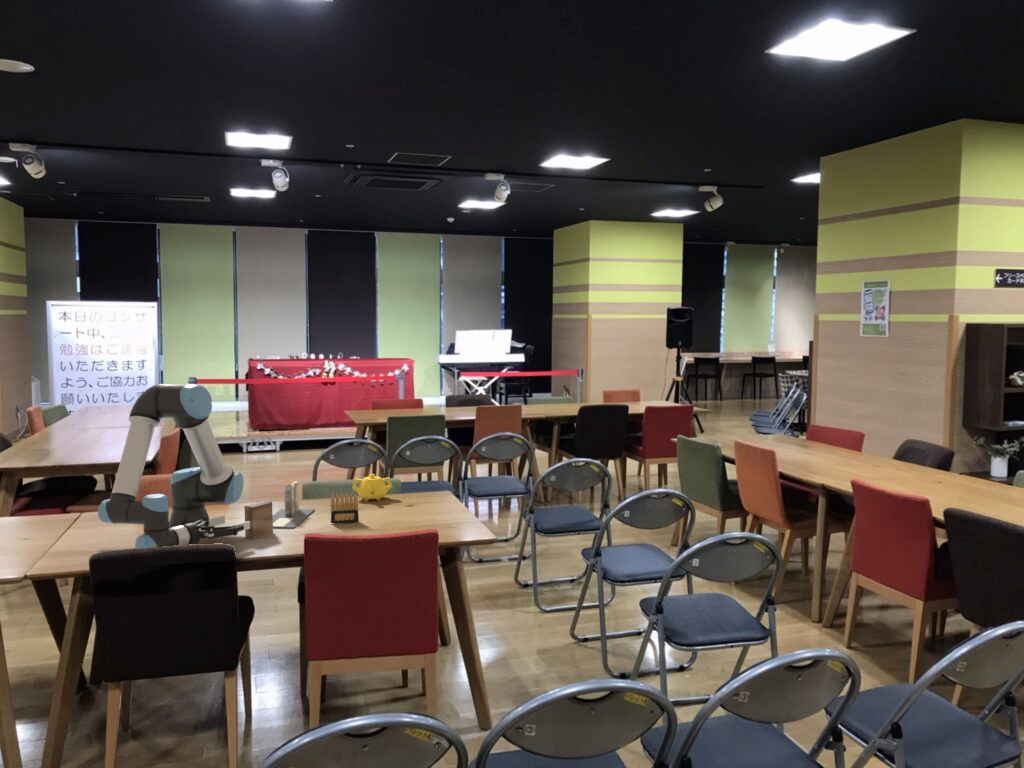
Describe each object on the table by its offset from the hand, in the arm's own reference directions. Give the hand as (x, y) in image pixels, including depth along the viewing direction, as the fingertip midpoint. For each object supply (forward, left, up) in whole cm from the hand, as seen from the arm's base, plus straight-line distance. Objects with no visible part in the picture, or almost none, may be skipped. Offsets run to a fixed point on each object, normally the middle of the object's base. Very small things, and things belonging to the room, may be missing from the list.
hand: (236, 522), depth 274 cm
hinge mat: (-10, +32, -7) cm, 34 cm away
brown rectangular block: (0, +10, -7) cm, 12 cm away
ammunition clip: (+14, +40, -8) cm, 43 cm away
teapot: (-4, +75, -8) cm, 76 cm away
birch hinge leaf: (-13, +37, -7) cm, 40 cm away
